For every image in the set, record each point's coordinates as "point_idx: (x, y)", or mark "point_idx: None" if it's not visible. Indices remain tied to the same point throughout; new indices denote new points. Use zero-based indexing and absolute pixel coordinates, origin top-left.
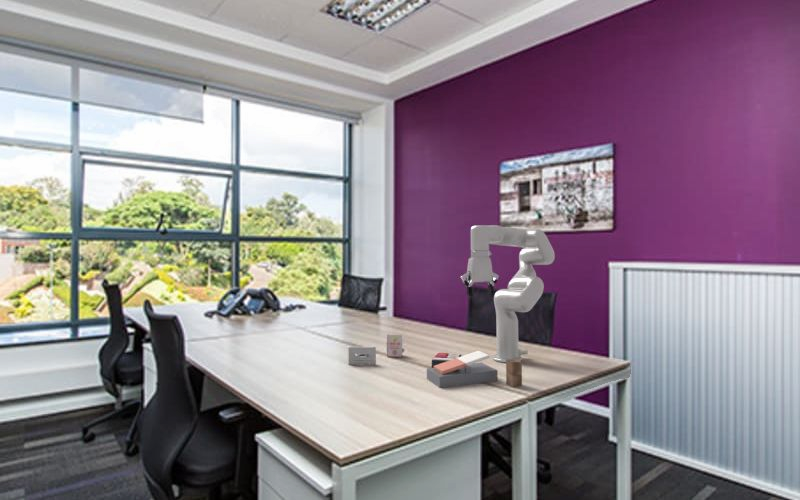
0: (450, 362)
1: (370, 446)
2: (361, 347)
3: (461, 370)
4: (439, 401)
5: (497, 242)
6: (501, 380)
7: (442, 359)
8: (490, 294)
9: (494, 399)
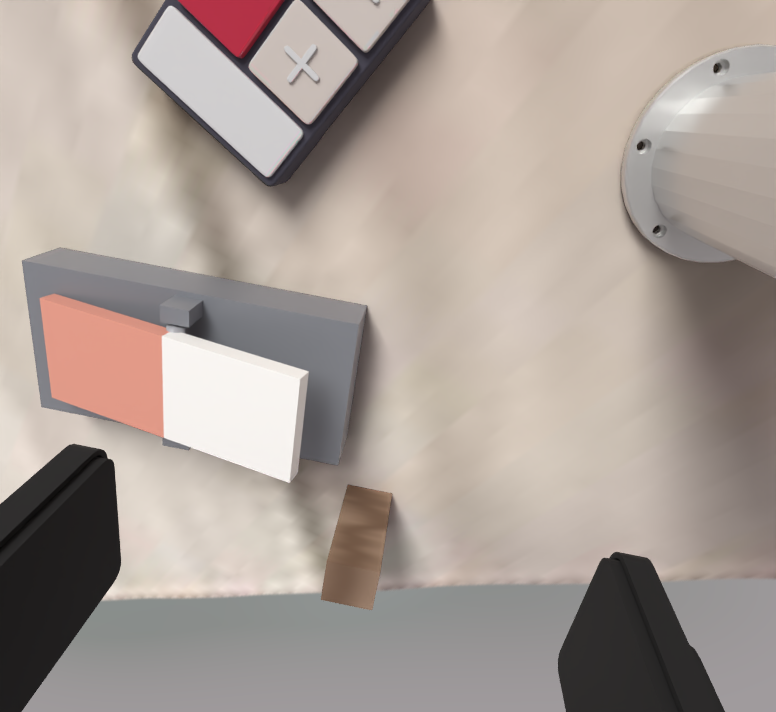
0: (116, 352)
1: None
2: None
3: None
4: None
5: None
6: (365, 442)
7: (192, 107)
8: (572, 647)
9: (206, 561)
